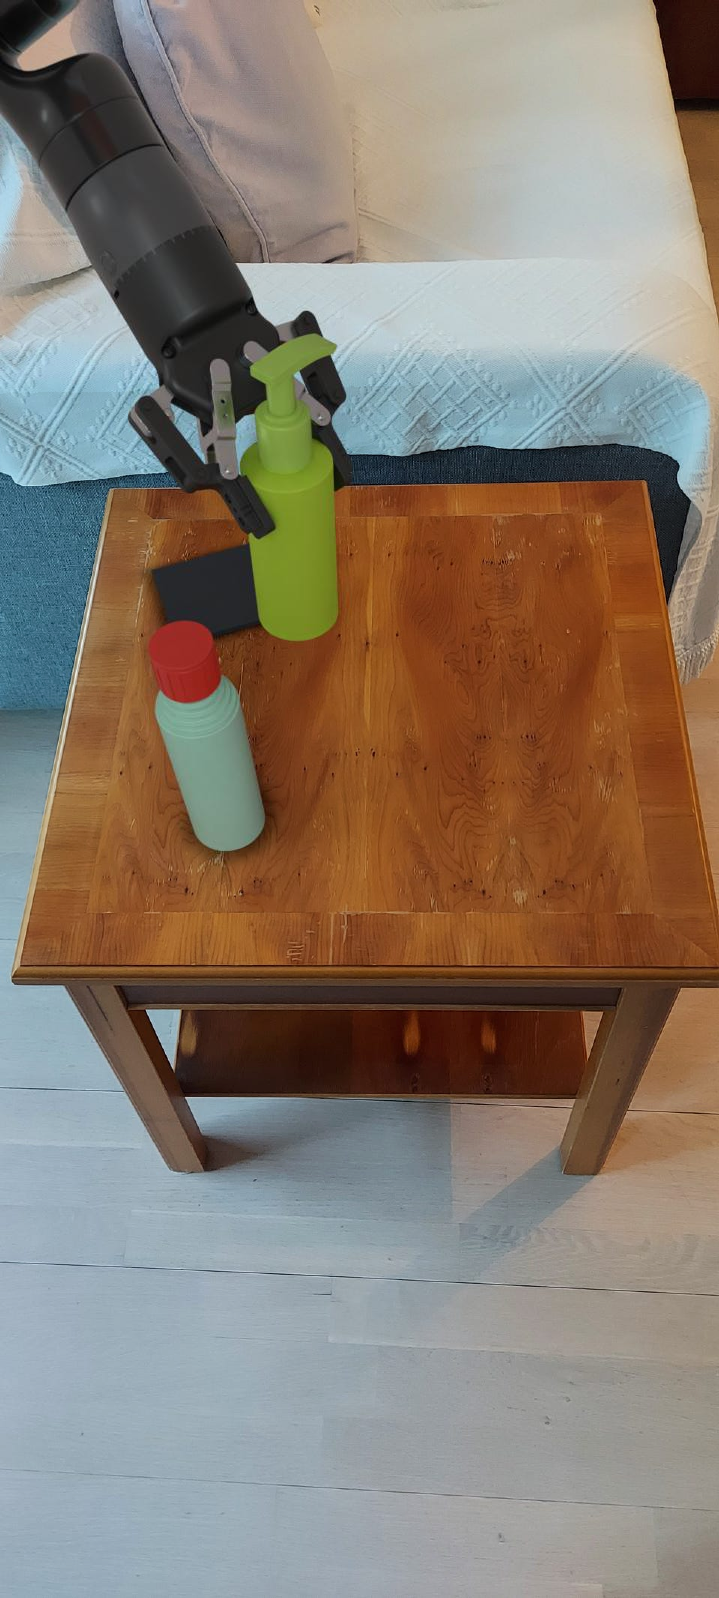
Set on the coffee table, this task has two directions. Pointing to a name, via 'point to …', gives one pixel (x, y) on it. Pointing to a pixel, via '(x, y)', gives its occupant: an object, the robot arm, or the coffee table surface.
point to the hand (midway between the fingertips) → (305, 509)
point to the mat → (211, 591)
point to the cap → (185, 661)
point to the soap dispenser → (292, 501)
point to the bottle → (214, 766)
